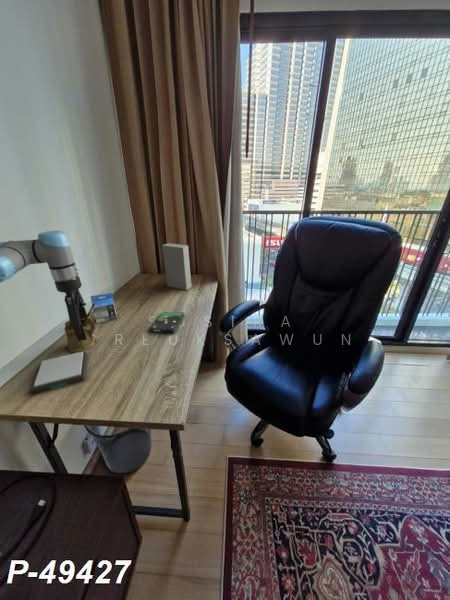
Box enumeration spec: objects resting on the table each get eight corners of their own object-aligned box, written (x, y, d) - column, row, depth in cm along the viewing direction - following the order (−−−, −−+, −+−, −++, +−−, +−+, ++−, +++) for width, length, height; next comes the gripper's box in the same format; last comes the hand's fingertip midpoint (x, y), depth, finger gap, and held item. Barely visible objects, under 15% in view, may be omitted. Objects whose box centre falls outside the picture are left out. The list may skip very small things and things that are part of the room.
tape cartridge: (96, 324, 112) (89, 299, 107) (96, 320, 115) (89, 296, 110) (117, 320, 115) (111, 296, 110) (117, 316, 118) (111, 292, 113)
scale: (33, 396, 76) (29, 389, 74) (42, 367, 87) (39, 360, 86) (84, 382, 81) (82, 375, 79) (87, 356, 92) (85, 350, 91)
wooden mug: (104, 349, 96) (92, 308, 87) (65, 355, 93) (49, 313, 85) (108, 336, 103) (97, 297, 95) (72, 342, 100) (58, 302, 92)
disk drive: (174, 335, 104) (184, 317, 117) (174, 329, 102) (183, 311, 115) (150, 334, 105) (163, 315, 118) (149, 328, 104) (162, 310, 117)
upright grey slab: (192, 287, 148) (189, 245, 137) (186, 291, 143) (183, 247, 132) (173, 283, 153) (168, 242, 142) (167, 287, 148) (161, 245, 137)
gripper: (75, 289, 76) (93, 345, 86) (81, 265, 97) (95, 313, 106) (46, 294, 74) (68, 351, 83) (59, 268, 94) (75, 317, 104)
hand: (83, 330), depth 95 cm, fingers open, 13 cm apart
